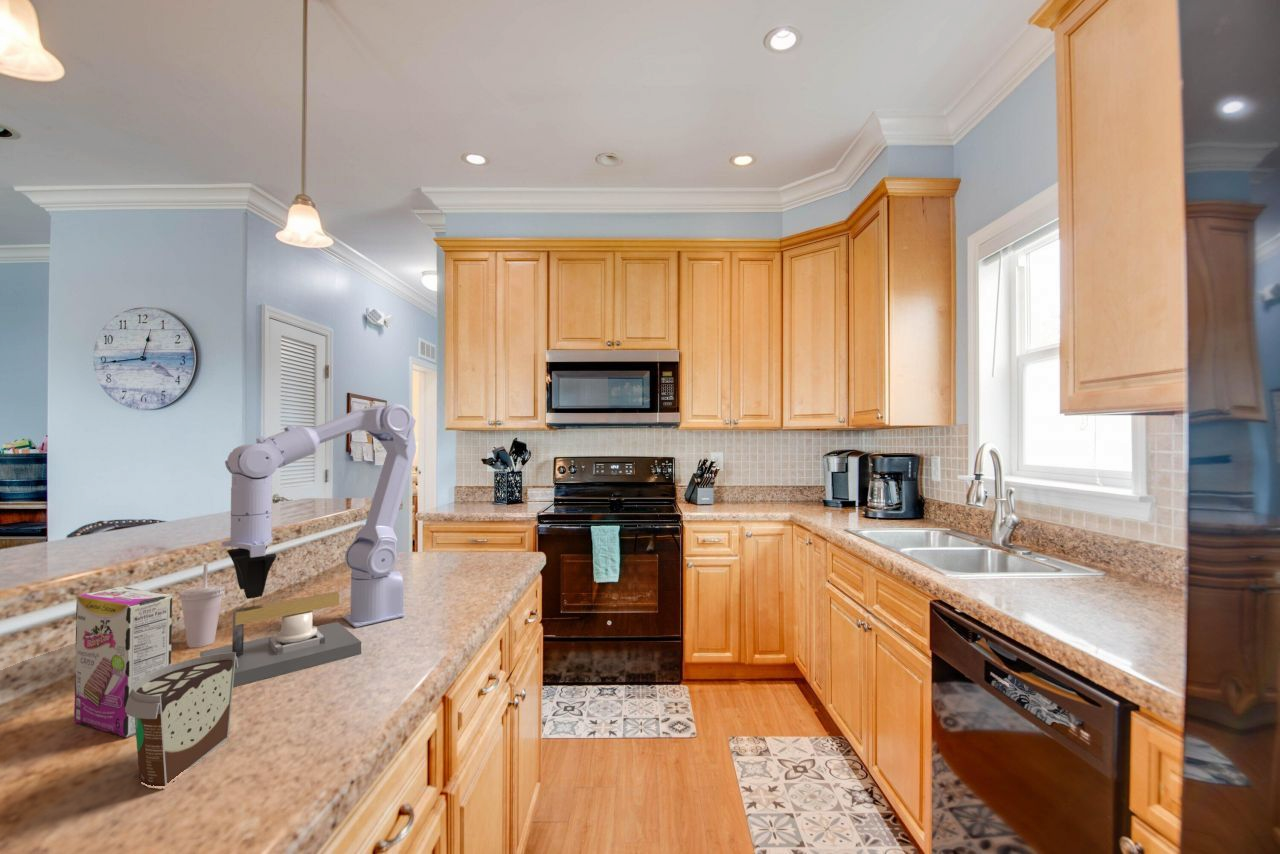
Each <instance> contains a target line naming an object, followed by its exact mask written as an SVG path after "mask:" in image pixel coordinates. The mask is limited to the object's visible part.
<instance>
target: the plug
mask: <svg viewBox="0 0 1280 854" xmlns="http://www.w3.org/2000/svg"><path fill="white" fill-rule="evenodd" d="M313 611H314V610H312V611H307V612H302V613H297V614H292V615H287V616H282V617H281V627H280V628H281V630H280V631H278V632H277V633H276V634H275V635H276V641H277V642H281V645H282V646H283V645H288V644H292V643H296V642H301V641H305V640H309V639H312V637H313V636H315V635H316V634H317V626H316V625H313V619H314V618H313V616H314V613H313Z"/></svg>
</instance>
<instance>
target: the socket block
mask: <svg viewBox="0 0 1280 854" xmlns="http://www.w3.org/2000/svg"><path fill="white" fill-rule="evenodd" d="M316 627H317V634H316V635H315V636H313V637H312V639H309V640H305V641H301V642H296V643H292V644H288V645H283V646H282V645H281V642H277V641H276V634H275V635H271V636H266V637H261V638H256V639H252V640H247V641H243V655H241V656H237V661H238V668H235V671H234V682H233V688H234V687H240V686H243V685H247V684H250V683H254V682H258V681H259V682H260V681H262V680H266V679H270V678H274V677H277V676H280V675H285V674H289V673H292V672H296V671H300V670H303V669H304V670H305V669H308V668H312V667H316V666H320V665H324V664H327V663H330V662H335V661H338V660H342V659H346V658H349V657H354V656H358V655H361V654H362V641H361V640H360V639H359V638H357V636H356V635H354V634H353V633H351V632H350V631H349V630H348V629H347V628H346V627H345V626H344V625H342V624H341V623H340V622H339V621H336V622H330V623H327V624H321V625H317V626H316ZM220 653H232V644H229V645H224V646H221V647H220V646H219V647H214V648H211V649H207V650H205V649H204V650H201V651H200V654H199V657H202V656H208V655H213V654H220Z"/></svg>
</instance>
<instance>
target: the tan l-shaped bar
mask: <svg viewBox="0 0 1280 854" xmlns="http://www.w3.org/2000/svg"><path fill="white" fill-rule="evenodd" d="M336 606H340V593H339V592H338V591H331V592H326V593H321V594H314V595H309V596H304V597H298V598H293V599H286V600H281V601H276V602H270V603H265V604H259V605H253V606H247V607H241V608H236V609H233V611H232V641H231V642H232V644H231V645H232V652H236V657H237V656H241V655H243V642H245V641H244V637H245V636H244V634H245V633H244V631H245V624H250V623H255V622H260V621H266V620H271V619H275V618H282V616H287V615H292V614H297V613H302V612H307V611H316V610H321V609H327V608H332V607H333V608H334V607H336Z"/></svg>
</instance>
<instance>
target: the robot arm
mask: <svg viewBox="0 0 1280 854" xmlns="http://www.w3.org/2000/svg"><path fill="white" fill-rule="evenodd" d="M416 421H417V420H416V419H415V417H414V415H413V414H412V412H411V411H410V410H409V408H408V407H407V406H405V405H404V404H400V403H394V404H390V405H389V404H388V405H371V406H369V407H367V408H361V409H360V408H359V409H356V410H352V411H351V412H348V413H345V414H343V415H341V416H339V417H336V418H334V419H331V420H329V421H327V422H324V423H321V424H319V425H318V426H317V425H316V426H313V427H312V428H308V427H305V426H304V425H303V426H302V425H298V426H296V425H293V424H292V425H287V426H285V427H284V428H283V429H284V431H282V432H279V433H276V434H273V435H271V436H268V437H265V436H260V437H258V438H257V437H256V443H253V444H242V445H239V446H236V447H235V448H234V449H233V450H232V451H230V453H229V454H228V456H227V460H225V461H224V464H225V467H226V469H227V471H228V472H229V473H230V474H231V486H230V536H229V537H230V540H223V541H221V547H225V548H226V547H231V549H227V550H226V551H227V554H228V555H229V557H230V558H231V560H232V563H233V565H234V569H235V575H236V581H237V584H238V587H239V589H240V590H244V595H245V598H246V599H249V600H250V599H253V598H260V597H262V596H263V594H264V591H265V587H266V583H267V579H268V575H269V572H270V570H271V567H272V565H273V563H274V562H275V560H276V559H277V554H276V553H268V554H267V553H266V551H267V549H268V546H269V545H270V544H271V543H273V542H274V541H273V540H274V536H272V534H273V533H272V530H273V529H272V526H273V525H272V522H273V521H272V520H273V517H272V516H273V515H272V513H273V512H272V510H273V507H272V506H273V505H272V504H273V501H272V500H273V485H272V484H273V483H272V481H273V480H272V478H273V477H272V475H273V474H274V473H275V472H276V471H277V469H278V468H283V467H285V466H287V465H289V464H292V463H295V462H296V461H297V462H298V461H299V460H302V459H304V458H307V457H309V456H312V455H313V454H315V453H316V451H317V450H318V447H319V445H320V444H323V443H325V442H328V441H331V440H334V439H337V438H339V437H342V436H345V435H347V434H351V433H353V432H356V431H359V432H360V431H361V432H363V431H365V432H366V433H367V434H369V435H370V436H372V438H374V439H376V441H378V442H379V443H380V444H381V446H382V447H383V449H384V450H385V451H386V455H385V457H384V461H383V465H382V468H381V471H380V475H379V479H378V481H377V485H376V488H375V491H374V494H373V498H372V502H371V504H370V507H369V512H368V515H367V518H366V520H365V521H366V522H365V523H364V526H362V528H360V529H359V530H358V531H357V532H356V533H355V536H354V540H353V541H352V543H350V545H349V546H348V547H347V549H346V551H345V554H344V561H345V564H346V565H347V567H348V568H349V569H350V570H351V571H350V605H349V608H350V612H349V614H346V615H343V618H342V619H344V620H345V621H347V622H348V623H349V624H350V625H352V627H354V628H358V627H364V626H367V625H373V624H377V623H381V622H385V621H389V620H394V619H399V618H403V617H405V616H406V615H405V613H404V597H405V596H404V595H405V594H404V592H405V591H404V589H405V588H404V586H405V585H404V579H403V575H402V573H401V572H400V571H399V570H393V569H395V567H396V565H397V562H398V552H397V546H398V543H399V542H398V541H399V540H398V537H397V535H396V533H395V531H394V527H395V524H396V521H397V518H398V514H399V511H400V507H401V503H402V500H403V496H404V494H405V489H406V487H407V482H408V480H409V476H410V473H411V470H412V469H411V468H412V465H413V461H414V458H415V456H416V451H417V445H416V443H417V442H416V438H415V431H414V430H415V429H414V428H415V425H416Z"/></svg>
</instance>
